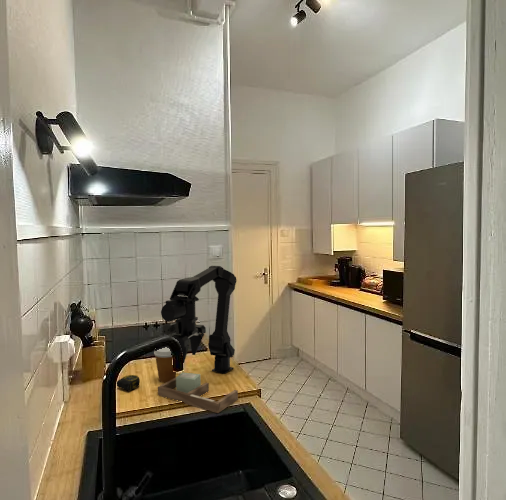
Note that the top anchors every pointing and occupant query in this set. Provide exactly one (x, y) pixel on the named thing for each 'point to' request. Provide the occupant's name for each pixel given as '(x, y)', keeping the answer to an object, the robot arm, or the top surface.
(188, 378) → the frame block
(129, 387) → the tape measure
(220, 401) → the walnut comb rail
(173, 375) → the disposable coffee cup
